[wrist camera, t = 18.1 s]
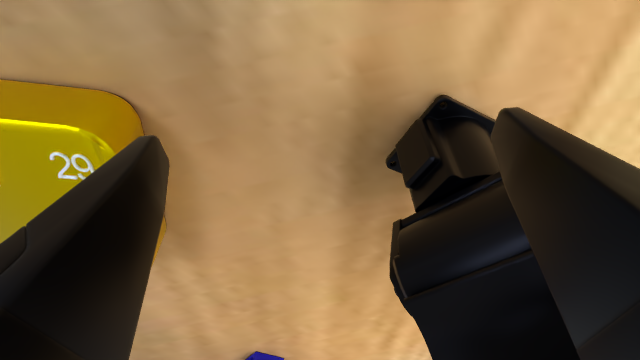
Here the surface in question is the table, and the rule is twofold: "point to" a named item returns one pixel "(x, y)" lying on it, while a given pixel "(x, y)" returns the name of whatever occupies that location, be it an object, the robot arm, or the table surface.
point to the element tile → (55, 145)
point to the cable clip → (263, 357)
